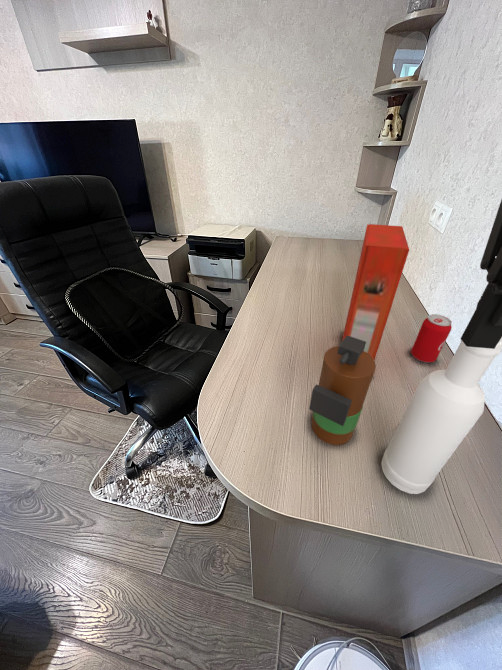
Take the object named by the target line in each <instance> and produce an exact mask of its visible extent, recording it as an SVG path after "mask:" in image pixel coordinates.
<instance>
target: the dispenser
mask: <svg viewBox="0 0 502 670" xmlns="http://www.w3.org/2000/svg"><path fill="white" fill-rule="evenodd" d="M342 340H343V339H342ZM342 340H341V343H340V344H339V345H335V346H331V347H330V348H328V349H327V350H325V352H324V355H323V360H322V363H321V369H320V374H319V380H318V385H319V386H321V387H324V388H326V389H328V390H330V391H333V392H335V393H337V394H339V395H341V396H344V397H346V398H348V399H350V400H352V402H351V405H350V409H349V412H348V415H347V418H346V421H345V423H344V425H343V426H341V425H339V424H337V423H335V422H333V421H331V420H329V419H327V418H325V417H323V416H321V415H319V414H317V413H315V412H313V411H312V417H311V421H310V426H311V430H312V431H313V434H314V435H315V436H316V438H318V439H319V440H320V441H322V442H324V443H326V444H328V445H334V446H340V445H345V444H346V443H348V442H350V440H351V439H352V438H353V435H354V432H355V429H356V428H357V425H358V422H359V419H360V417H361V414H362V412H363V409H364V408H363V407H364V403H365V400H366V398H367V395H368V391H369V389H370V386H371V383H372V380H373V378H374V374H375V371H376V368H377V365H376V360H374V359H373V358H372V357H371V356H370V355H369V354H368V353H366V352H365V351H363V350H364V348H365V344H366V342H365V341H362V340H359V339H356V338H354V337H351V336H348V335H347V336H346V337H345V339H344V340H343V341H342Z"/></svg>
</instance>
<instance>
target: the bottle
mask: <svg viewBox="0 0 502 670" xmlns="http://www.w3.org/2000/svg"><path fill="white" fill-rule="evenodd" d="M501 353H502V338H501V339H500V341H499V342H498V344H497V345H496V347H495V349H490V348H478V347H467V346H466V345H465V344H464V342H463V341H462V340H461V339H460V342H459V345H458V346H457V349H456V351H455V352H454V354H453V356H452V358H451V360H450V361H449V363H448V365H447V367H446V368H445V369H444V368H443V369H437V370H433V371H432V372H430V373H429V374H427V375H426V376H425V377H424V378H423V379H422V380H421V381H419V382H418V384H417V386H416V388H415V390H414V392H413V395H412V397H411V399H410V401H409V403H408V404H407V407H406V409H405V411H404V413H403V414H402V417H401V419H400V421H399V423H398V425H397V427H396V429H395V431H394V434H393V435H392V438H391V440H390V441H389V444H388V446H387V447H386V448H385V451H384V452H383V456H382V459H381V463H380V464H381V470H382V473H383V474H384V476H385V478H386V479H387V480H388V482H389V483H390V484H391V485H392V486H393V487H395V488H396V489H398V490H400V491H402V492H404V493H407V494H411V495H419V494H421V493H425V492H426V490H427V489H429V487H430V486H431V485H432V484H433V483H434V482H435V480H436V478H437V476H438V475H439V473H440V472H441V471H442V470H443V467H444V466H445V465H446V463H448V461H449V460H450V458H451V457H452V455H453V454H454V453H455V451H456V450H457V449H458V447H459V446H460V445H461V444H462V442H463V440H465V438H466V436H467V435H468V433H470V431H471V430H472V429H473V428H474V426H475V424H476V423H477V422H478V420H479V419H480V418H481V416H482V415H483V413H484V409H485V399H486V398H485V397H486V396H485V395H486V394H485V392H484V390H483V388H482V387H481V385H480V384H479V383H480V381H481V380H482V378H483V377H484V375H485V373H486V372H487V371H488V369H489V368H490V366H491V365H492V363H493V361H494V360H495V358H496V357H497V356H499V355H500V354H501Z"/></svg>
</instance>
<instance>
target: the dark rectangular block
mask: <svg viewBox="0 0 502 670" xmlns="http://www.w3.org/2000/svg"><path fill="white" fill-rule="evenodd" d="M351 402H352V400H350V399H348V398H346V397H344V396H341V395H339V394H337V393H335V392H333V391H330V390H328V389H326V388H324V387H321V386H319V384H317V383H316V384H315V385H314V387H313V388H312V390H311V397H310V402H309V408H308V410H309V411H311V412H312V413H313V412H315V413H317V414H319V415H321V416H323V417H325V418H327V419H329V420H331V421H333V422H335V423H337V424H339V425H341V426H343V425H344V423H345V421H346V418H347V415H348V412H349V409H350V405H351Z"/></svg>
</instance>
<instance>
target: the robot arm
mask: <svg viewBox="0 0 502 670" xmlns="http://www.w3.org/2000/svg"><path fill="white" fill-rule="evenodd" d="M479 268H480V270H483V271H486V272H487V274H486V278H485V279H486V282H487V285H486V286H485V288H484V290H483V292H482V294H481V296H480V299H479V300H478V301H477V303H476V308H475V310H474V312H473V314H472V315H471V318H470V320H469V321H468V323H467V326H466V327H465V329H464V331H463V332H462V335H461V336H460V341H461V340H462V341H463V342H464V344H465V345H466V346H467V347H478V348H490V349H495V347H496V345H497V344H498V342H499V341H500V339H501V338H502V199H501V200H500V203H499V205H498V209H497V212H496V214H495V218H494V220H493V225H492V227H491V229H490V232H489V236H488V239H487V241H486V245H485V248H484V252H483V254H482V257H481V259H480V265H479Z"/></svg>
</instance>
